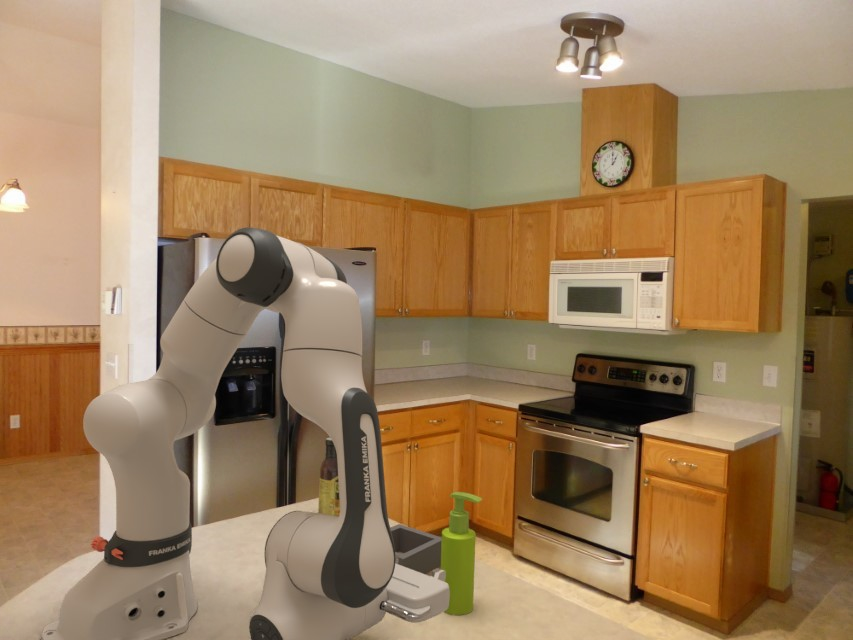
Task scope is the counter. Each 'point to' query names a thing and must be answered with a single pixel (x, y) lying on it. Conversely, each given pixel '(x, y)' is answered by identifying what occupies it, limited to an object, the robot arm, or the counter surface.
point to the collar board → (417, 549)
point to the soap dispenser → (459, 556)
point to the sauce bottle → (329, 482)
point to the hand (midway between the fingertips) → (418, 565)
